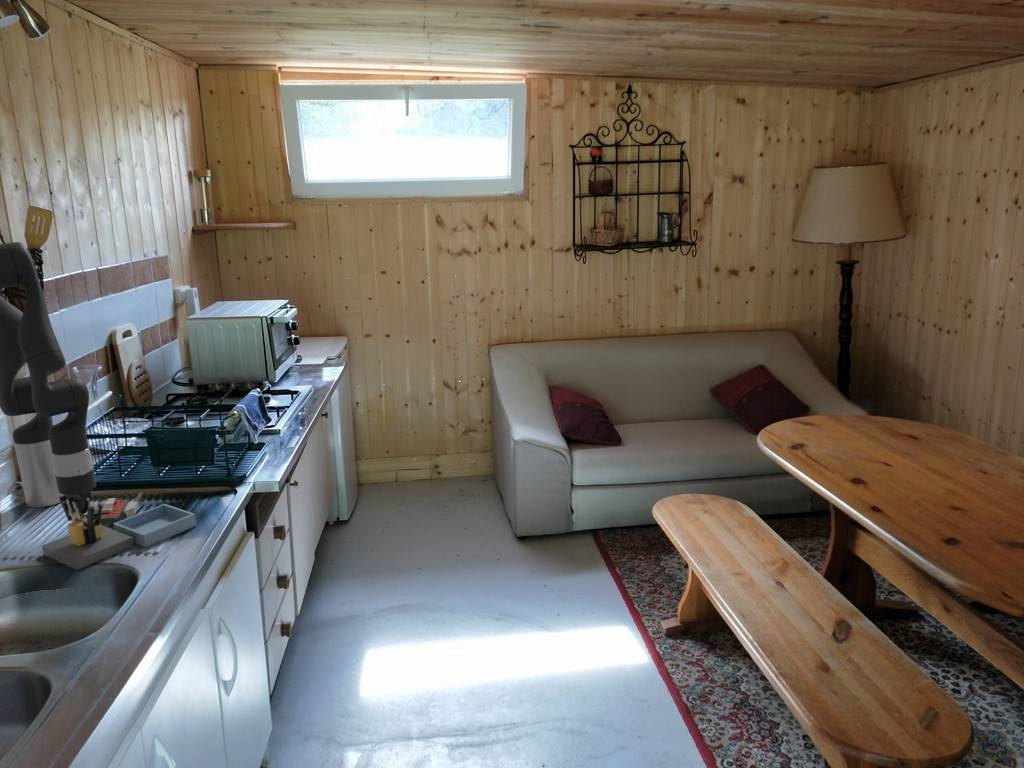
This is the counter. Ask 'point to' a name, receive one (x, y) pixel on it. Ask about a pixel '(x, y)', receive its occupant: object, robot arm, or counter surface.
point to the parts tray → (156, 524)
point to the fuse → (81, 533)
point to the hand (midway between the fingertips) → (87, 540)
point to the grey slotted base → (88, 548)
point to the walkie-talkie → (118, 510)
